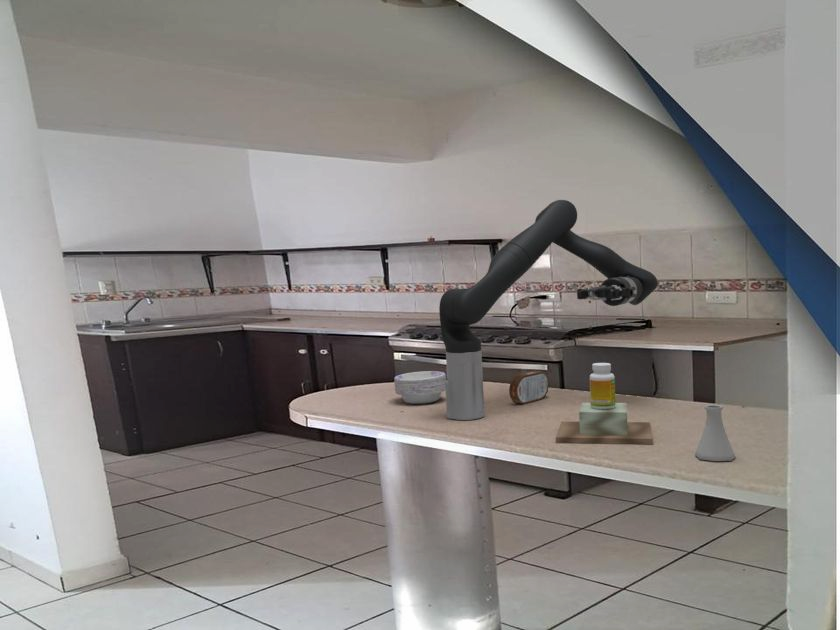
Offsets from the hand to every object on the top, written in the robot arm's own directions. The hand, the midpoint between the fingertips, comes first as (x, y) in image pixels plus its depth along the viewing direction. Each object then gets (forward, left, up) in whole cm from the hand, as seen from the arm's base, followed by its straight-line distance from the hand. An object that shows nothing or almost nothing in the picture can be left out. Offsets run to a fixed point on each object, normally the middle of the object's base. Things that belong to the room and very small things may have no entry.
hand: (595, 294), depth 177 cm
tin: (-19, +14, -30) cm, 38 cm away
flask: (+23, -39, -30) cm, 54 cm away
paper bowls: (-51, +14, -30) cm, 61 cm away
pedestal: (+2, -23, -30) cm, 38 cm away
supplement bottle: (+2, -23, -24) cm, 33 cm away
